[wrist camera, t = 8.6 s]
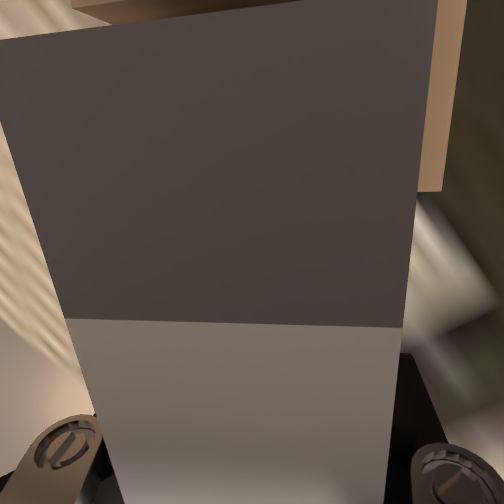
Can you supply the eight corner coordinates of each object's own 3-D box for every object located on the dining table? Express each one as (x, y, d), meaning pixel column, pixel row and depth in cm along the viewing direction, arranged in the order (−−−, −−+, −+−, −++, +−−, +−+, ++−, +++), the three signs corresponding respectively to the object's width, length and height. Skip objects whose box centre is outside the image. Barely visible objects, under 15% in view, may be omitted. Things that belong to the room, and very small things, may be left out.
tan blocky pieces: (400, 12, 14) (644, -257, 4) (371, 388, 21) (426, 654, 11) (192, 37, 15) (-48, -102, 5) (233, 379, 22) (166, 604, 12)
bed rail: (356, 62, 7) (439, -18, 3) (340, 504, 12) (357, 737, 8) (171, 80, 8) (-26, 42, 3) (231, 492, 13) (188, 700, 8)
